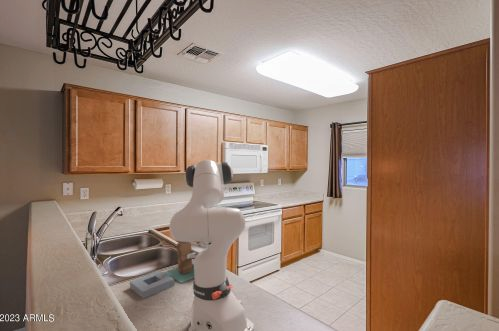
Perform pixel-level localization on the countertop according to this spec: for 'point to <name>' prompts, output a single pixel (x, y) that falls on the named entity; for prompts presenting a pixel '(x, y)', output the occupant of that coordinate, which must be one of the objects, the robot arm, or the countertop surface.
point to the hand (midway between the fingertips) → (182, 255)
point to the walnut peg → (184, 257)
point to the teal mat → (181, 275)
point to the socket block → (151, 284)
